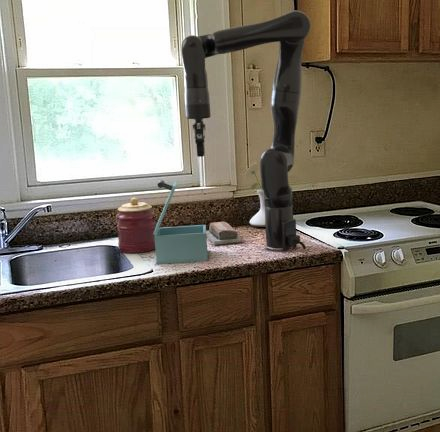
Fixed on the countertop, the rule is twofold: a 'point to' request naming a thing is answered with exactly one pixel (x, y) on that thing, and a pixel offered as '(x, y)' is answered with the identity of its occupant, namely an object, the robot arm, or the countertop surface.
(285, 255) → the countertop surface
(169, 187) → the freezer lid
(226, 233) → the packaged product
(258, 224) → the flower in vase
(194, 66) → the robot arm
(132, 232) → the kitchen canister
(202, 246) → the box
